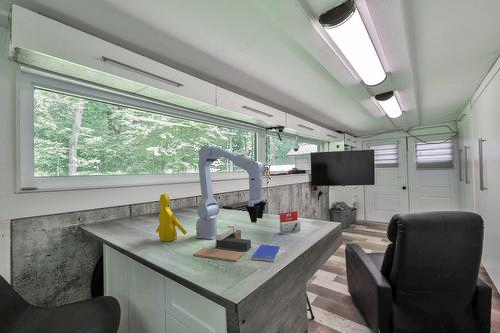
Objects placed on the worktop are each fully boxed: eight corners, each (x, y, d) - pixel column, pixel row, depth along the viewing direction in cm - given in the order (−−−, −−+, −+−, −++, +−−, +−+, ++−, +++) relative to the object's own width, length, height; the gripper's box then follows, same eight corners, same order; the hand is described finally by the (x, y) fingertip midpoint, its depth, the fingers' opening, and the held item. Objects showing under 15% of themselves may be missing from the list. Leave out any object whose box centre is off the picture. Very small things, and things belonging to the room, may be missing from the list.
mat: (193, 255, 81) (193, 253, 81) (203, 249, 88) (203, 247, 88) (236, 261, 74) (236, 259, 74) (244, 254, 81) (244, 252, 81)
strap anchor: (225, 242, 95) (225, 233, 95) (231, 237, 101) (231, 229, 101) (235, 243, 93) (235, 233, 93) (241, 238, 99) (240, 230, 99)
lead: (216, 248, 89) (215, 239, 89) (221, 245, 93) (220, 236, 93) (247, 252, 84) (246, 243, 84) (251, 248, 87) (250, 239, 87)
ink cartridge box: (301, 231, 108) (300, 211, 109) (282, 234, 104) (281, 214, 104) (297, 229, 111) (297, 210, 111) (279, 233, 106) (279, 213, 106)
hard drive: (274, 258, 73) (280, 246, 85) (251, 256, 76) (260, 244, 88) (274, 263, 73) (280, 250, 85) (251, 260, 76) (260, 248, 88)
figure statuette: (189, 238, 102) (188, 192, 102) (179, 244, 94) (178, 194, 95) (159, 236, 107) (157, 192, 108) (147, 241, 100) (146, 194, 100)
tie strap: (215, 239, 86) (214, 232, 86) (230, 230, 98) (229, 224, 98) (221, 240, 84) (221, 233, 84) (236, 231, 96) (235, 225, 97)
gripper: (259, 190, 84) (260, 225, 84) (269, 187, 98) (270, 217, 97) (242, 190, 87) (243, 224, 86) (255, 187, 100) (256, 216, 100)
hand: (256, 220), depth 92 cm, fingers open, 7 cm apart
